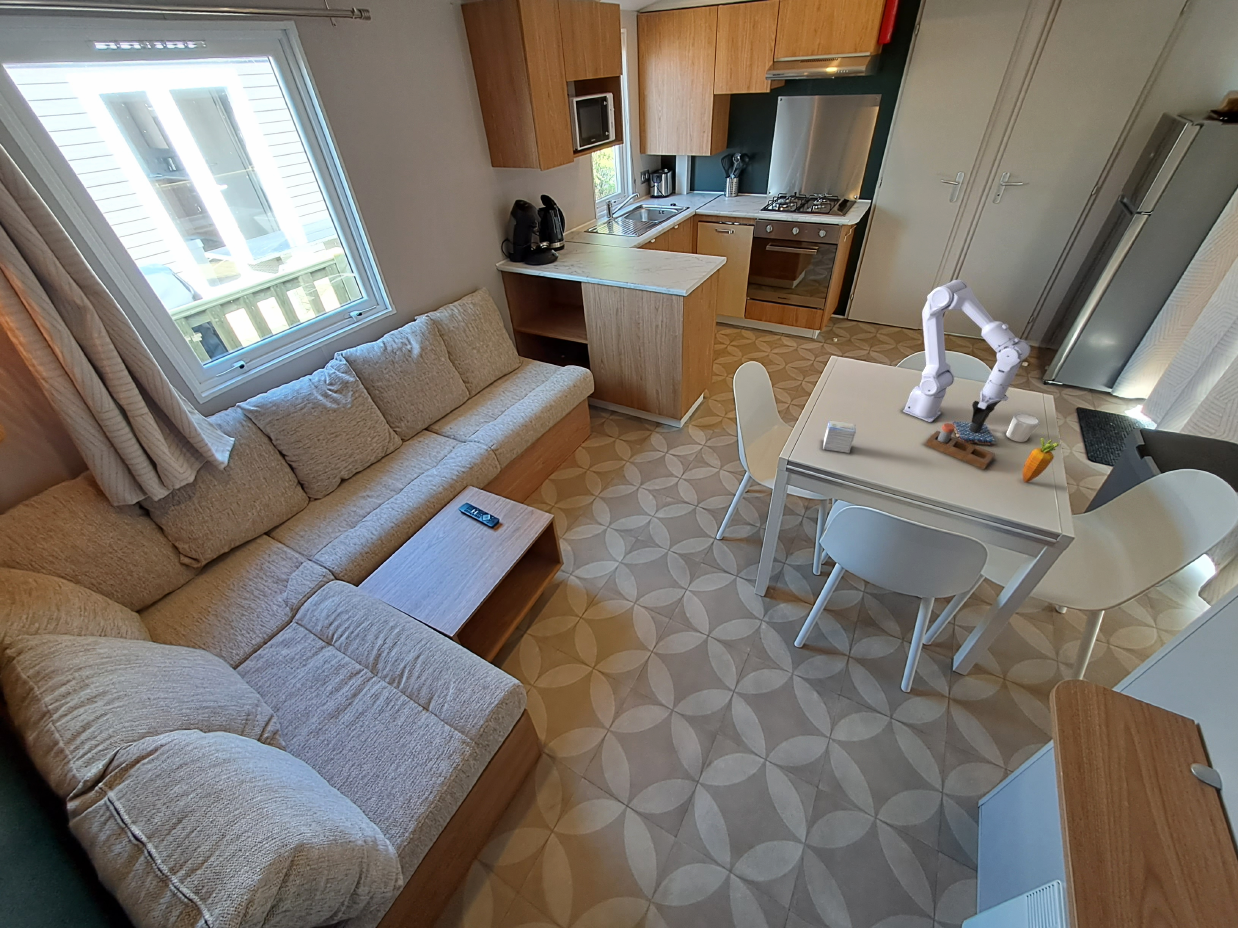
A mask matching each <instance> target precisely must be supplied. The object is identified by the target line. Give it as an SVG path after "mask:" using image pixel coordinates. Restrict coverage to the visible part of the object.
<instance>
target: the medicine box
mask: <svg viewBox="0 0 1238 928" xmlns="http://www.w3.org/2000/svg"><path fill="white" fill-rule="evenodd" d="M856 433H857V432H856V424H855V423H850V422H843V421H835V420H828V423H827V427H826V431H825V435H824V438H823V443H822V444H823V445H822V449H823V450H826V451H833V452H840V453H847V454H850V452H851V448H852V445H853V442H854V439H855V436H856Z"/></svg>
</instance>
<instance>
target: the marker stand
mask: <svg viewBox="0 0 1238 928" xmlns="http://www.w3.org/2000/svg"><path fill="white" fill-rule="evenodd" d="M940 432H941V430H936V431H934V433H933V434H932V435H930V437H928V438H927V440H926V443H925V446H926V447H929V448H931V449H933V450H936V451H938V452H940V453H943V454H945V455H947V456H950V457H952V458H955V459H957V460H960V461H962V462H965V463H967V464H969V465H972V466H974V467H975V468H979V469H981V470H985V469H986V468H987V466H989V465H990V463H991V462H992V461H993V460H994V458H995V456H996V452H993V451H990V450H988V449H985V448H982V447H980V446H977V445H975V444H973V443H968V442H965V441H963V440H960V439H958V438H959V437H955V436H953V435H951V437H950V439H949V441H948V443H947V444H945V443H943V442H940V441H938V440H937V439H938V437H939V434H940Z"/></svg>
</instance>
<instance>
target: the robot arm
mask: <svg viewBox="0 0 1238 928" xmlns="http://www.w3.org/2000/svg"><path fill="white" fill-rule="evenodd" d="M926 297H927V301H926V302H925V304H924V307H923V308H922V311H921V312H922V313H921V316H922V318H921V319H922V329H923V341H924V342H923V343H924V356H925V368H924V369H923V371H922V373H921V380H920V382H919V385H915V387H913V389H912V391H911V393H910V394H909V396H908V399H907V401H906V404H905V407H904V409H903V410H902V412H903V413H904V414H905V413H906V414H908V415H911V416H913V417H916V418H918V419H920V420H924V421H926V422H929V423H932V422H933V421H934V420H935V419H936V418H937V417H939V416H940V415H941V413H942V412H941V411H940V410H939V409H940V407H941V405H942V404H943V403H942V402H943V400H944V398H945V396H946V394H947V389H948V388H949V387H950V386H952V385H953V384H954V382H955V375H954V373H953V372H952V369H951V365H950V364H949V363H947V359H946V356H947V355H946V343H945V330H944V329H945V328H944V326H945V325H944V313H945V312H947V310H954V311H962V312H964V313H965V315H967V317H969V318H970V319H971V320H972V321H973V322H974V323H975V324H976V325H977V326H978V327H979V329H981V334H980V335H981V338H983V339H984V340H985V342H986V343H987V344H988V345H989V346H990V347H991V348H992V349H993V350H994V351H995V353H996V360H997V361H996V363H995V365H994V366H993V368H992V370H991V373H990V374H989V376H988V378H987V380H986V382H985V384H984V386H983V388H982V389H981V391H980V393H979V394H980V395H979V397H980V401H978V400H974V401H973V402H972V405H971V407H972V417H971V423H974V424H977V425H979V424H980V423H981V422H982V421H983V419H984V418H985V417H986V416H987V415H988V414H989V413H990V414H991V413H992V412H994V411H995V409H996V407H997V405H999V403H1001V402H1002V401H1003V402H1006V401H1008V399H1009V396H1007V394H1006V393H1007V392H1008V390H1009V388H1010V386H1011V384H1012V382H1013V380H1014V378H1015V377H1016V375H1017V373H1018V371H1019V369H1020V366H1021V364H1022V362H1023V360H1024V359H1026V358H1027V357H1028V356H1029V355H1030V354H1031V350H1032V349H1031V346H1030V344H1029V342H1028V341H1026V340H1025V339H1020V338H1019V337H1017V336H1016V335H1014V333H1013V332H1012V331H1011V330H1010V329H1009V327H1010V326H1009V325H1008V323H1003V322H1002V321H1000V320H999V321H998V320H997V321H996V320H994V319H993V317H992V316H991V315H990V314H989V312H988V311H987V310H986V309H985V308H984V306H983V305H982V304H981V302H980V301H979V300H978V299H977V297H976V296H975V294H974V291H973V289H972V287H970V286H968V284H967V283H966V282H965V281H964V280H962V279H954V280H951V281H950V282H948V283H946V284H944V285H942V286H938V287H935V288H934V289H933V290H932V291H931V292H930V293H929V294H928V295H927V296H926ZM990 414H989V415H990Z"/></svg>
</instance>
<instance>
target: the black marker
mask: <svg viewBox="0 0 1238 928" xmlns="http://www.w3.org/2000/svg"><path fill="white" fill-rule="evenodd" d="M990 414H991V413H989V414H988V415H987V416H986V417H985V418H984V419H983V421H982V422H981V423H980V424H979V425H977V424H974V423H972V422H971V423H972V424H971V426H970V428H969V430H970V431H971V432H973V433H979V432H980V431H981V429H982V427H983V425H984V424H985V423H986V421H987V419H988V417H989V416H990Z"/></svg>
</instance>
